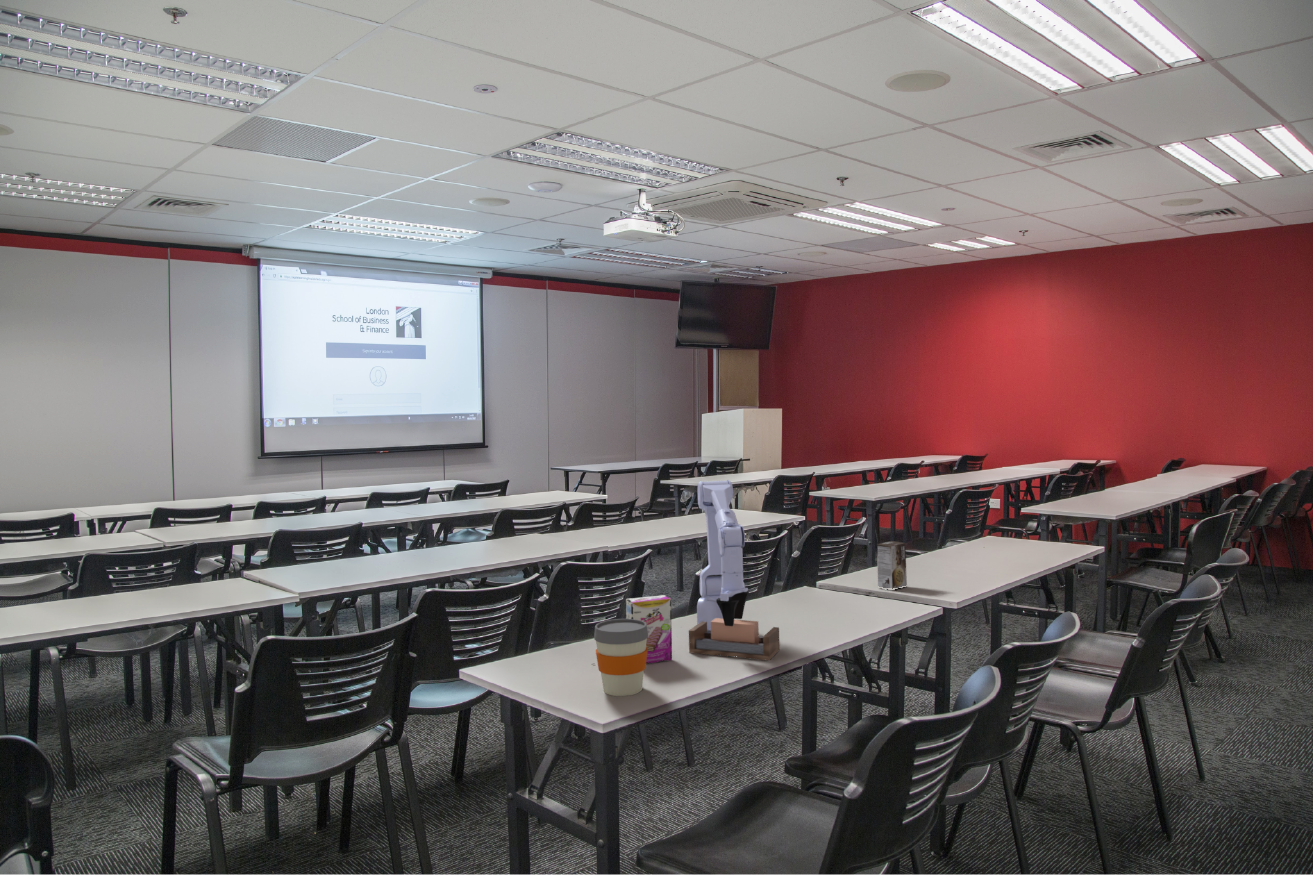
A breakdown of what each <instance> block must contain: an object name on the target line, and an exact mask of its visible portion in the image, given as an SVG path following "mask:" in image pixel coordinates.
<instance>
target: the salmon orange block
mask: <svg viewBox="0 0 1313 875" xmlns="http://www.w3.org/2000/svg"><path fill="white" fill-rule="evenodd" d="M710 632H711V639H714V640H725V641H737V642H748V643H759V636H760V635H759V634H760V632H759V621H758V620H757V621H756V620H746V619H745V620H743V619H734V624H733V626H725V624H724V620H723V619H720V618H715V619H714V620H712V621H711V631H710Z"/></svg>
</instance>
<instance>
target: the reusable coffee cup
mask: <svg viewBox="0 0 1313 875" xmlns="http://www.w3.org/2000/svg"><path fill="white" fill-rule="evenodd" d="M593 635H594V636H593V638H594V641H595V642H596V644H595V645H596V649H595V654H596V655H595V656H596V661H597V662H596V663H597V668H598V671H599V672H600V675H601V682H602V683H601V684H602V688H603V692H604V693H605V694H607V695H609V696H615V697H628V696H632V695H633V696H634V695H636V694H639V693H640V692H642V691H643V690H642V689H643V683H644V682H643V681H644V672H645V670H646V668H647V664H646V660H647V649H648V648H647V647H646V641H647V638H648V630H647V624H646V622H644V621H641V620H636V619H626V618H614V619H607V620H602V621H601V622H597V623H596V624H595V626H594V634H593Z"/></svg>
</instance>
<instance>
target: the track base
mask: <svg viewBox="0 0 1313 875" xmlns="http://www.w3.org/2000/svg"><path fill="white" fill-rule="evenodd" d="M780 648H781V647H780V627H779V626H778V627H775V626H773V627H772V628H771V629H769V630H768V631H767V633H766V634H764V635H759V643H748V642H737V641H725V640H714V639H711V631H708V630H707V622H703V621H702V622H700V623H699V624H696V625H695V626H693V627H691V628H689V630H688V650H689V651H688V653H689V654H697V655H698V654H699V655H707V654H710V655H709V656H718V655H719V657H728V656H735V657H734V658H738V657H741V658H740V659H749V658H751V659H752V660H761V661H770V660H771V659H772V658H773V657H774V656H775V655H776V654H777V653H778V652H779V651H780ZM711 654H712V655H711ZM720 655H721V656H720ZM736 656H737V657H736ZM751 659H750V660H751Z"/></svg>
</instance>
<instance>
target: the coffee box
mask: <svg viewBox="0 0 1313 875" xmlns="http://www.w3.org/2000/svg"><path fill="white" fill-rule="evenodd" d="M906 551H907V550H906V542H901V541H894V540H891V541H885V542H880V543H876V559H877V562H876V563H877V565H876V567H877V587H878V586H879V587H883V588H892V589H893V588H899V587H902V586H906V585H907V586H908V584H907V583H908V580H907V555H906Z"/></svg>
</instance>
